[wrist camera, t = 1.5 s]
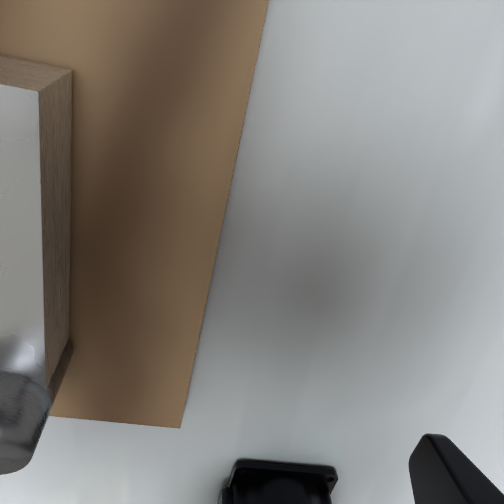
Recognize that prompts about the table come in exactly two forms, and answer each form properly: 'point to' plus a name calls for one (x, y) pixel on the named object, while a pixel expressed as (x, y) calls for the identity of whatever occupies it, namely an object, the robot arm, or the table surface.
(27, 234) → the bar
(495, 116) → the table surface
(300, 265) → the table surface
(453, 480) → the robot arm
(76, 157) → the board
